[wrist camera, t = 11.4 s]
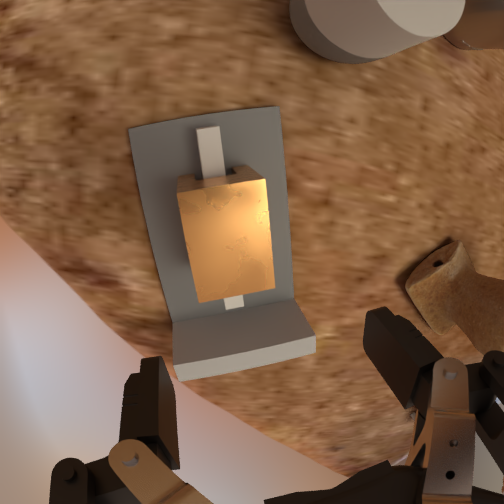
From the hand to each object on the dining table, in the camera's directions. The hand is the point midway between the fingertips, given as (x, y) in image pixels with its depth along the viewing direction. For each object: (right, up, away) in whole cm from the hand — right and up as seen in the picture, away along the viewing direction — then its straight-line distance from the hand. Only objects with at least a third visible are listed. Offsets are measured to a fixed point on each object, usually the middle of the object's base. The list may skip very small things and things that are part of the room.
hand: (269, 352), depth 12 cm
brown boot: (+25, 0, +26) cm, 36 cm away
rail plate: (-3, +6, +17) cm, 18 cm away
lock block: (-3, +7, +15) cm, 17 cm away
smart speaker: (+6, +24, +11) cm, 27 cm away
